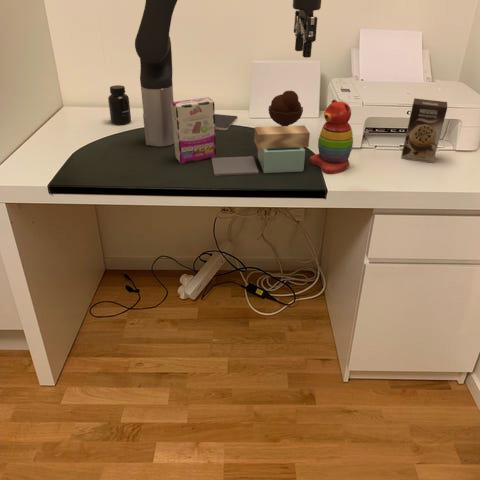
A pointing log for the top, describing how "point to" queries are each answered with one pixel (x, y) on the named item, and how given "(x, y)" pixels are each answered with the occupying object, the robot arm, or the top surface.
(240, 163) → the mat
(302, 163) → the dish
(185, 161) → the candy bar box
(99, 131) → the top surface
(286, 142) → the wooden block
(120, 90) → the supplement bottle
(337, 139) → the stacking bear
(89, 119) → the top surface
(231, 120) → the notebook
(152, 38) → the robot arm
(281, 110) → the ice cream bowl
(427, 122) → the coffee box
